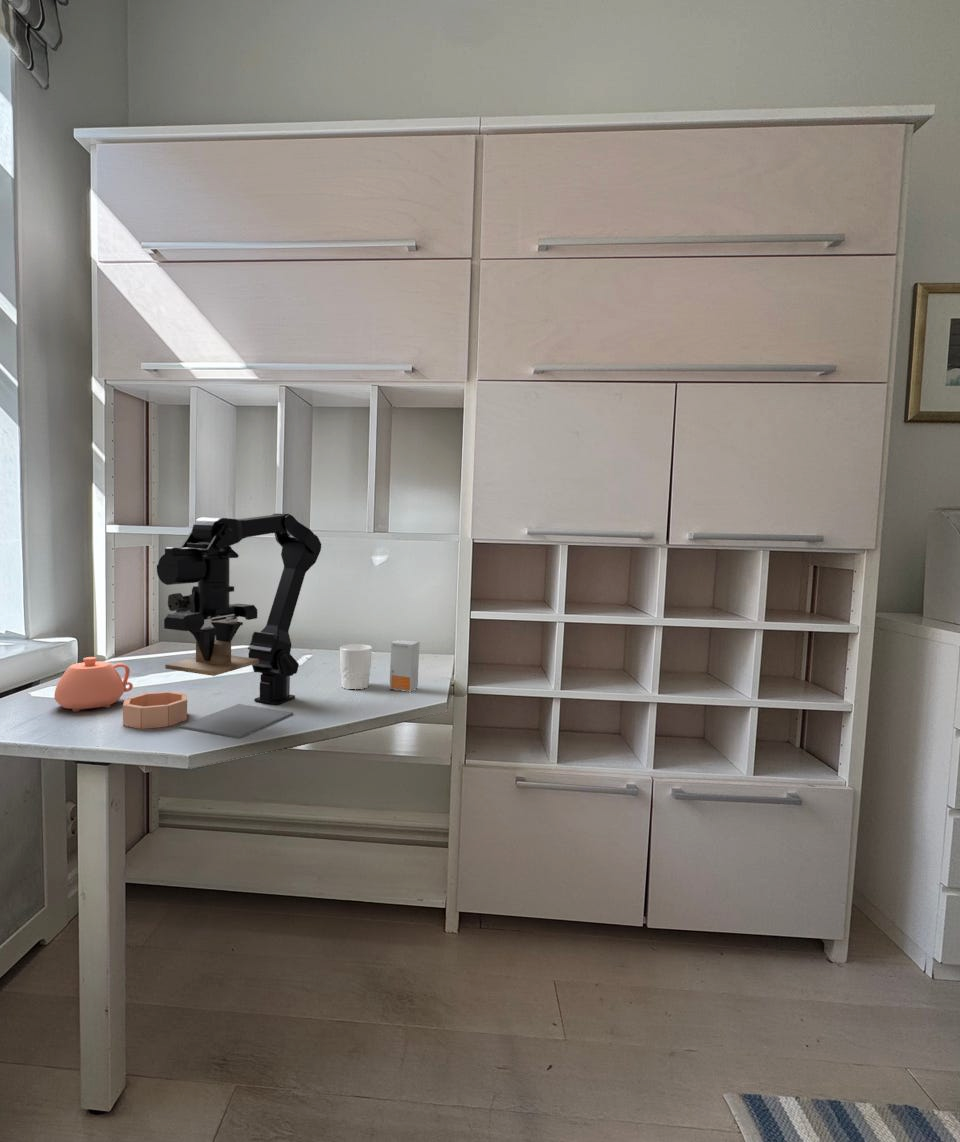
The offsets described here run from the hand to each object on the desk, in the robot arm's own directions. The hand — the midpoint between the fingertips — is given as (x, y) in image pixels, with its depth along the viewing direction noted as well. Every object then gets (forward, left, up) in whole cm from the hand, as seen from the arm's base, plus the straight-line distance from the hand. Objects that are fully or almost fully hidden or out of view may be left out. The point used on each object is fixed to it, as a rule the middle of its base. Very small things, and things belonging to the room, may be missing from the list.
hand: (213, 659), depth 117 cm
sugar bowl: (+2, -29, -13) cm, 32 cm away
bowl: (+4, -10, -12) cm, 17 cm away
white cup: (-35, +12, -13) cm, 39 cm away
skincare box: (-38, +24, -13) cm, 46 cm away
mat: (-2, +5, -12) cm, 13 cm away
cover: (0, 0, -1) cm, 1 cm away
